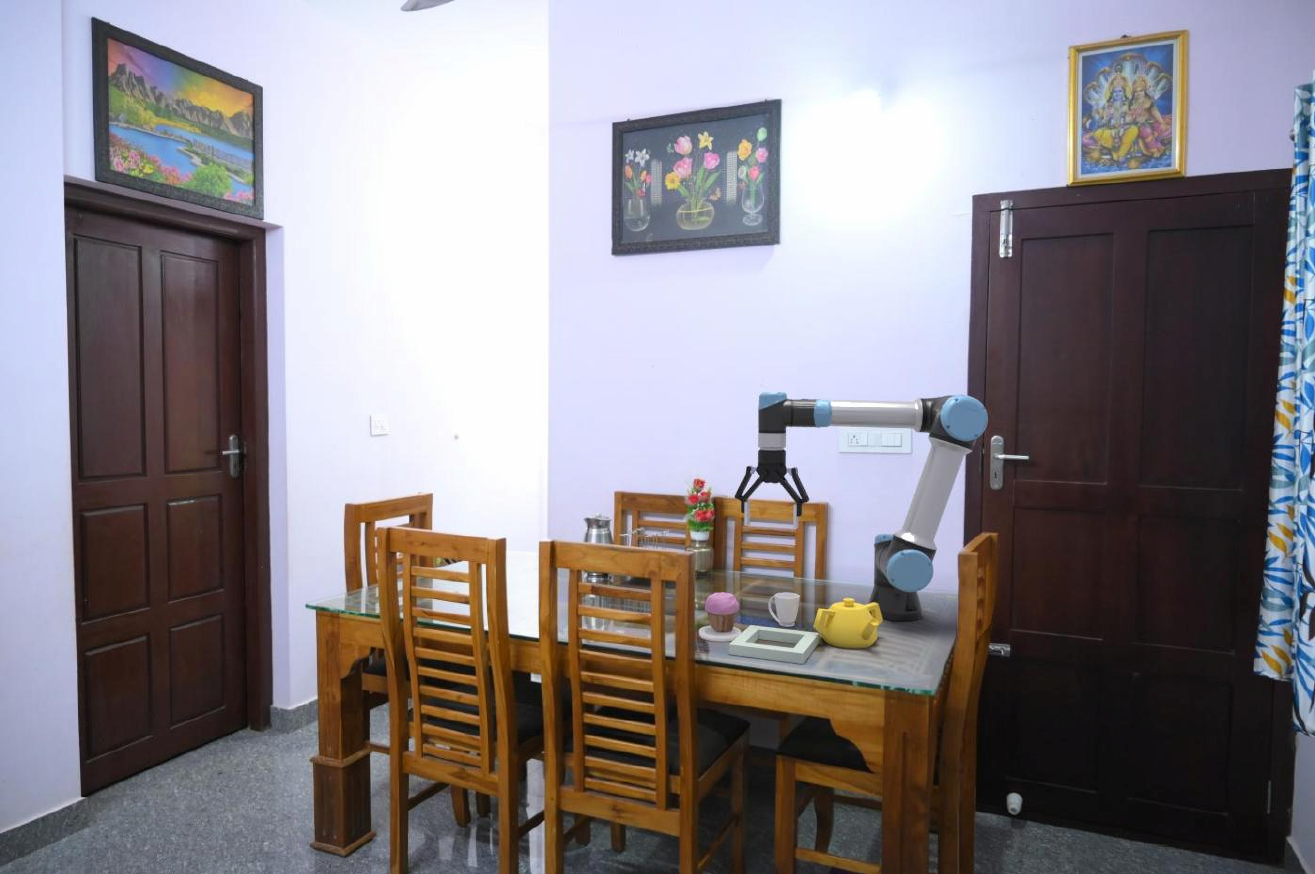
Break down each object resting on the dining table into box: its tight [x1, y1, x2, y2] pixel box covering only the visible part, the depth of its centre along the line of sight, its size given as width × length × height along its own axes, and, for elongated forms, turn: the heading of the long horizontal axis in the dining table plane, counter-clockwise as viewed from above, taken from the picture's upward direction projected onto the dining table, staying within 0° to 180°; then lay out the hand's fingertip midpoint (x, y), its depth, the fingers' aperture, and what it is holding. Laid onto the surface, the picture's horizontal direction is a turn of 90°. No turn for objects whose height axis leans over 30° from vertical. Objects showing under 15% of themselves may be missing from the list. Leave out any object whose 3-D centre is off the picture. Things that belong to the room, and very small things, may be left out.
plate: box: [698, 625, 742, 643], centre depth 213 cm, size 11×11×1 cm
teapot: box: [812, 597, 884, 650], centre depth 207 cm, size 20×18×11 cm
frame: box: [728, 624, 820, 665], centre depth 202 cm, size 18×18×2 cm
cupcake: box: [704, 591, 740, 632], centre depth 213 cm, size 9×9×10 cm
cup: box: [767, 591, 801, 628], centre depth 225 cm, size 7×10×8 cm
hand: (771, 526), depth 223 cm, fingers open, 13 cm apart
